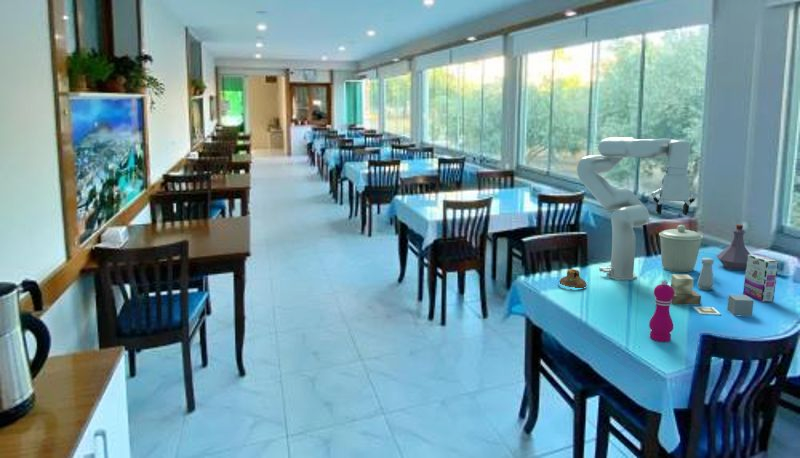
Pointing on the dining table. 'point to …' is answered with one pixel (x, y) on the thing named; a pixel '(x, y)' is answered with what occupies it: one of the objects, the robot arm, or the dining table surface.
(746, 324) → the dining table surface
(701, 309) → the card
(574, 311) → the dining table surface
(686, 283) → the maple cube
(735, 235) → the flask
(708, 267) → the salt shaker
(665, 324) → the pepper mill
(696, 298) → the walnut block
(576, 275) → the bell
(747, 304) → the grey cube
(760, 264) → the candy bar box
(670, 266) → the canister
